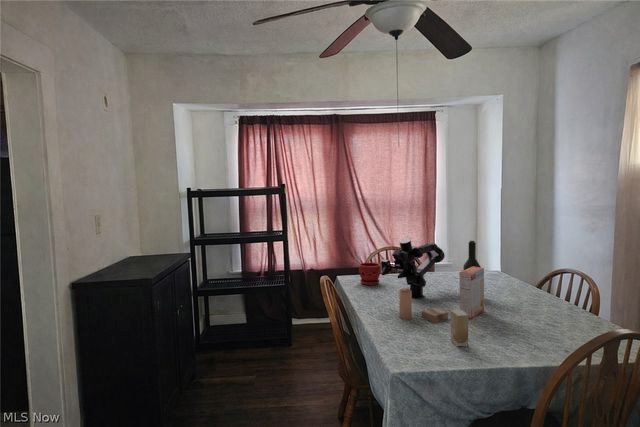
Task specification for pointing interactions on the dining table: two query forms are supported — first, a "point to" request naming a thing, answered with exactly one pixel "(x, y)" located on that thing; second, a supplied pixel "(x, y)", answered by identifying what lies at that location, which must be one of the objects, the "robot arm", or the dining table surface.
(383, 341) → the dining table surface
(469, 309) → the cracker box
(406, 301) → the tan lidded canister
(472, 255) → the wine bottle
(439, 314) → the plinth
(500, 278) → the dining table surface
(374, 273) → the plant pot
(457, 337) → the skincare box
